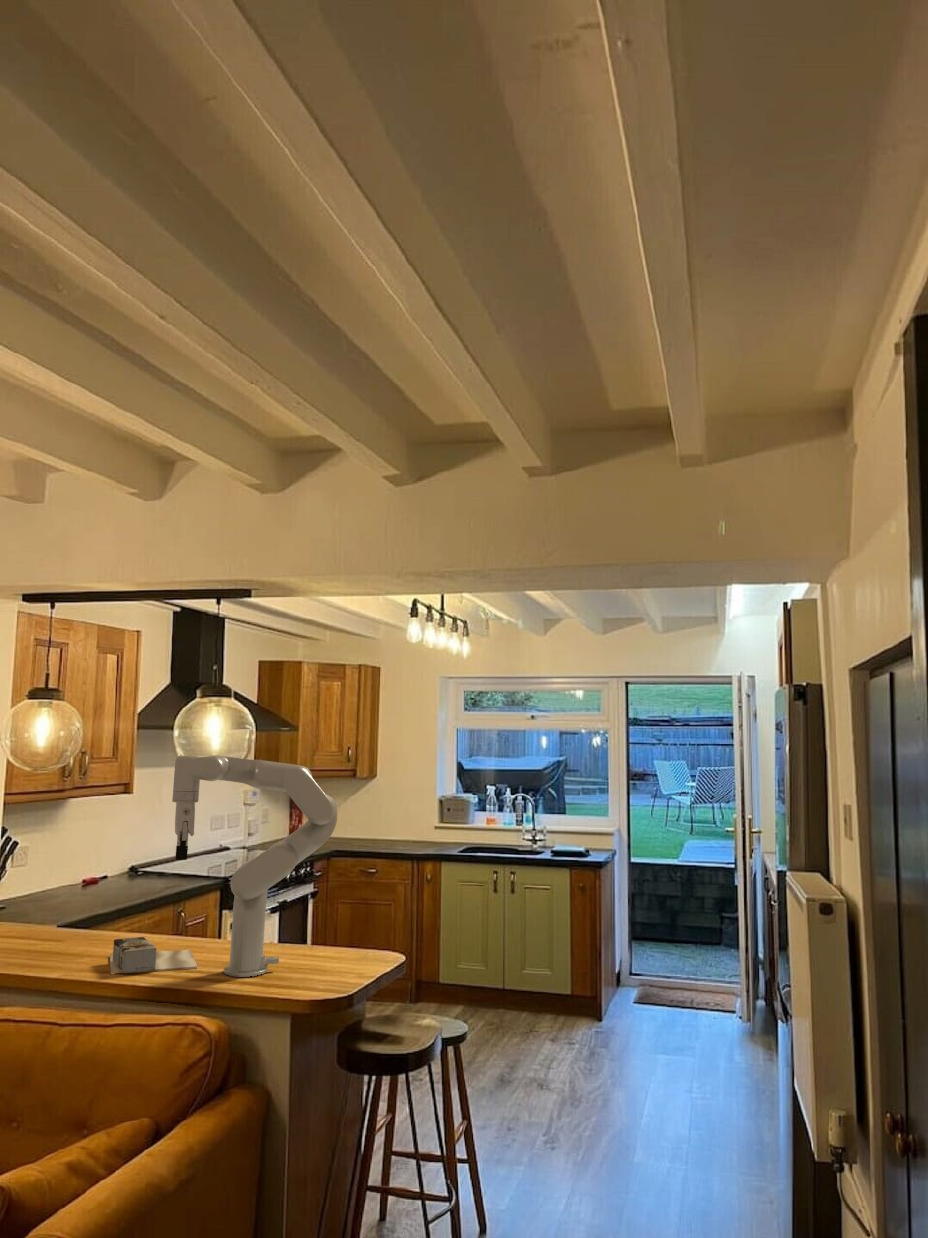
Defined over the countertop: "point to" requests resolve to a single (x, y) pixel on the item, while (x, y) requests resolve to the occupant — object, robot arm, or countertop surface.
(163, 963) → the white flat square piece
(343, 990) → the countertop surface
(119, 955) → the coffee box
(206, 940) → the countertop surface
